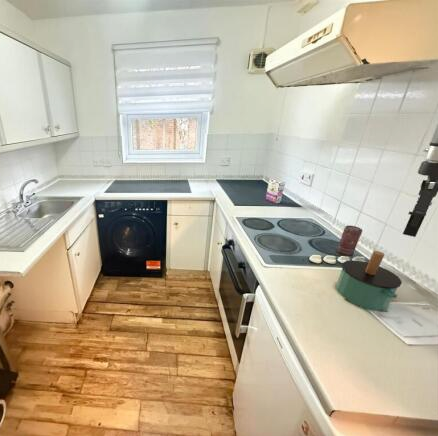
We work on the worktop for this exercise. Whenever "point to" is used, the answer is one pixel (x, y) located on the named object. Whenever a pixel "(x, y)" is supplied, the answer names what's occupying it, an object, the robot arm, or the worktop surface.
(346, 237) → the can
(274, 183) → the candy bar box
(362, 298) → the pot
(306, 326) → the worktop surface
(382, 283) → the lid
